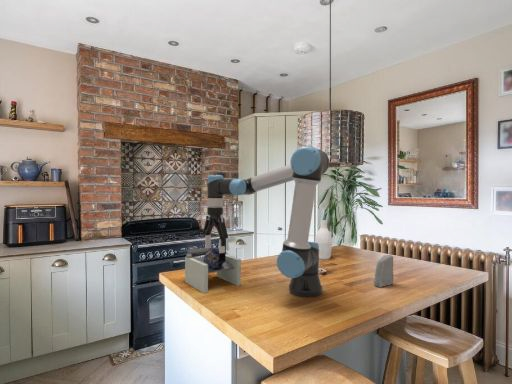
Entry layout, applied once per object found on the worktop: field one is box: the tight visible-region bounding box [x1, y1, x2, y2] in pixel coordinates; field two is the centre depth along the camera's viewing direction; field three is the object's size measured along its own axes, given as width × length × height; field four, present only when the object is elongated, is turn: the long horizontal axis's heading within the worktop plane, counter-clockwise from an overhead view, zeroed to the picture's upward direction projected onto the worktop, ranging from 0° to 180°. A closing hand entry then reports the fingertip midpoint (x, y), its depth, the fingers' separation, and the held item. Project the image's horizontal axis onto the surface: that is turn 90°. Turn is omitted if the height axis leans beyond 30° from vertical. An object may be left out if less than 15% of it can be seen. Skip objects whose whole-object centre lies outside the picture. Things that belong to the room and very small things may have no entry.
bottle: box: [314, 219, 333, 260], centre depth 212 cm, size 11×11×25 cm
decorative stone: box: [373, 254, 395, 288], centre depth 154 cm, size 11×6×15 cm, turn 124°
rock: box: [203, 247, 227, 268], centre depth 152 cm, size 11×10×10 cm
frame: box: [184, 254, 242, 294], centre depth 154 cm, size 20×20×14 cm
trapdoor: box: [186, 246, 234, 274], centre depth 156 cm, size 21×15×7 cm
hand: (214, 250), depth 152 cm, fingers open, 13 cm apart
